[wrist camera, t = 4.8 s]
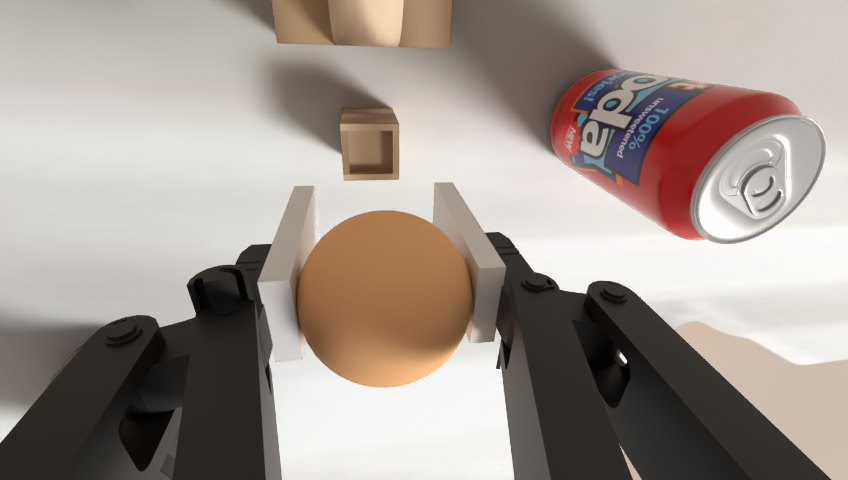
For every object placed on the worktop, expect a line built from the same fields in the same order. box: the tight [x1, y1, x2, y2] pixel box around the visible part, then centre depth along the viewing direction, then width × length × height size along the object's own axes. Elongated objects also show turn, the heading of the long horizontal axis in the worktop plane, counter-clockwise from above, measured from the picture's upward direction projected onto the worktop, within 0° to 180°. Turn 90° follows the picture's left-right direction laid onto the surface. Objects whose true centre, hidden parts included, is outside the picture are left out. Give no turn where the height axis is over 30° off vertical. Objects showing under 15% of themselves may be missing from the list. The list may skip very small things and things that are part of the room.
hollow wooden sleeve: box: [340, 108, 399, 181], centre depth 26 cm, size 4×4×5 cm
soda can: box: [550, 69, 826, 244], centre depth 24 cm, size 8×8×15 cm
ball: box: [297, 211, 472, 387], centre depth 11 cm, size 5×5×5 cm
